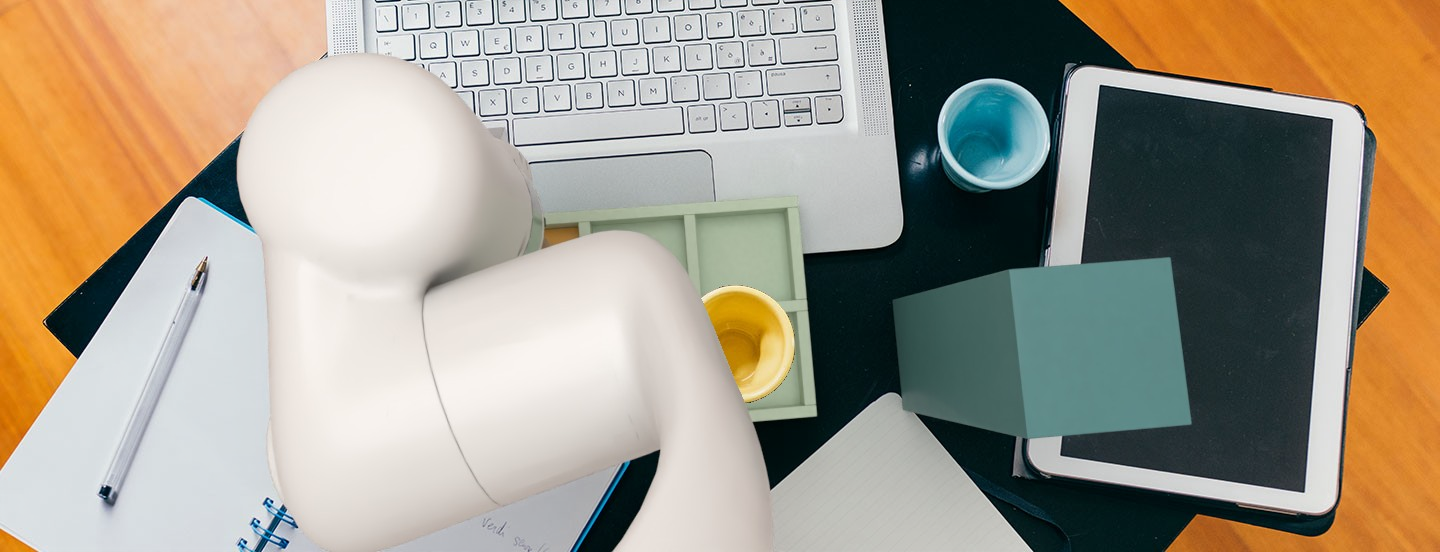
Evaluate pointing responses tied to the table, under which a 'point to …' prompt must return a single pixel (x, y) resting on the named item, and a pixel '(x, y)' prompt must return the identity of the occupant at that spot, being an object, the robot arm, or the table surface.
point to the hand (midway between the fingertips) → (523, 264)
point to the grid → (726, 266)
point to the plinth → (1047, 350)
